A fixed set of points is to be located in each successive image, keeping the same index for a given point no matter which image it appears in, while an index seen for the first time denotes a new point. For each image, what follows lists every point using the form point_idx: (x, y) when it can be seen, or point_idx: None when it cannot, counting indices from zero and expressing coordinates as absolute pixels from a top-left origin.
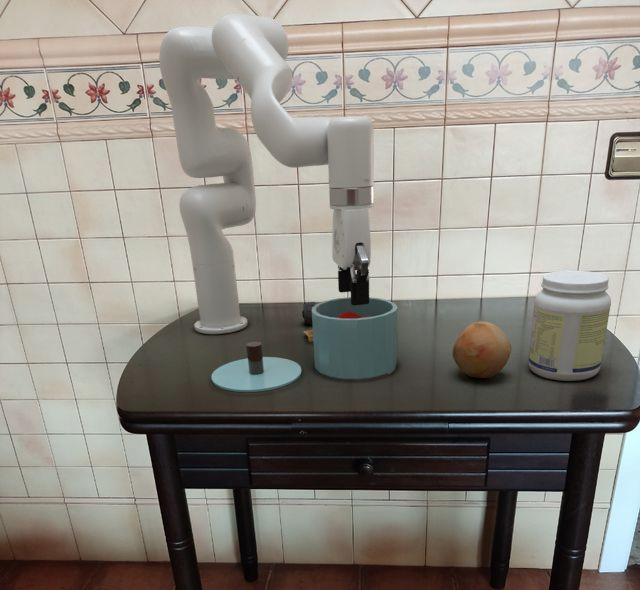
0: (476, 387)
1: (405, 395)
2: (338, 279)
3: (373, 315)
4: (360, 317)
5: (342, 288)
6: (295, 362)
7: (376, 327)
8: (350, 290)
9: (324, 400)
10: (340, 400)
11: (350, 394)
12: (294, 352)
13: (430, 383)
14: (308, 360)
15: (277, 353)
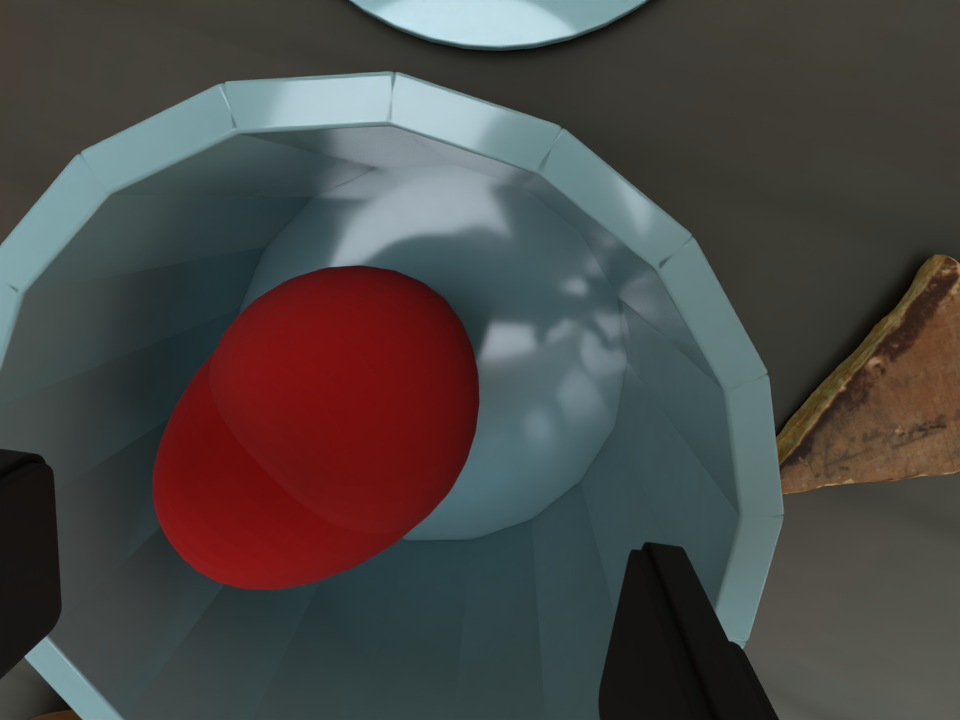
0: (25, 682)
1: None
2: (712, 648)
3: (557, 656)
4: (301, 509)
5: (631, 596)
6: (557, 36)
7: None
8: (608, 660)
9: (46, 51)
10: (27, 130)
11: None
12: (827, 121)
13: None
14: (642, 160)
15: (876, 5)
